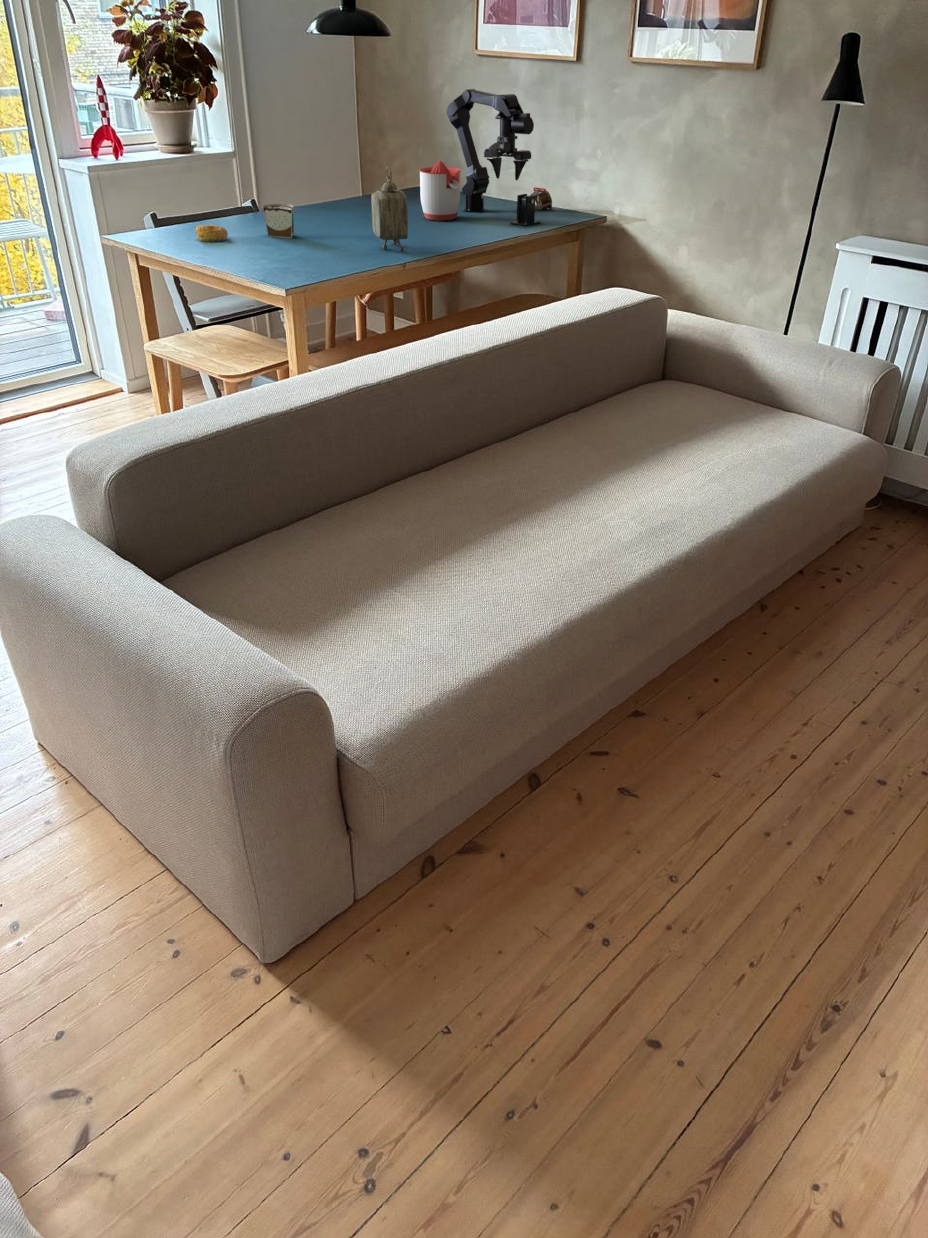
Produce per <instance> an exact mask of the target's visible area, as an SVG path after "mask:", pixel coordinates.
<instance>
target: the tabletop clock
mask: <svg viewBox="0 0 928 1238" xmlns="http://www.w3.org/2000/svg"><path fill="white" fill-rule="evenodd" d="M388 171H389V175H388ZM385 178H386V180H387V181H386V182H384V183H383V184H382V185H381V189H380V190H376V191H374V192H373V193H372V194H371V195H370V200H371V201H370V202H371V223H372V225H371V226H372V231H373V233H374V235H375V236H376V237H377V238H379V239H381V240H383V241H384V243H383V244H382V246H381V248H382V249H383V250H384V251H385V250H387V248H388V245H387V242H388V241H392V242H391V243H392V245H393V246H397V245H398V247H399V252H401V253H403V252H405V247H404V246H402V244H401V241H400V240H407V239H408V235H409V218H408V217H409V215H408V200H407V196H406V194H405V192H404V191H403V190H402V189H398V187H397V185H396V184H395V183H394V182H392V178H393V175H392V170H391V167H389V166H386V167H385Z"/></svg>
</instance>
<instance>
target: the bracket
mask: <svg viewBox="0 0 928 1238" xmlns="http://www.w3.org/2000/svg"><path fill="white" fill-rule="evenodd" d="M525 195H528V193H522V194H517V197H516V198H517V200H516V220H514V221H510V224H509V225H512V226H518V227H523V228H527V227H530V226H531V227H532V226H535V225H536V226H537V225H540V224H541V220H535V219H536V218H535V217H536V216H535V215H536V209H535V207H536V201H535V197H536V195H531V194H530V195H531V196H529V195H528V196H526V206H525V205H522V201H521V199H522V198H523V197H524V196H525Z"/></svg>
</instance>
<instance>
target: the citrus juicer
mask: <svg viewBox="0 0 928 1238" xmlns="http://www.w3.org/2000/svg"><path fill="white" fill-rule="evenodd" d="M418 171H419V192H420V203H421V208H422V213H423V215H424V218H425V219H427V220H432V221H436V222H442V221H450V220H455V219H456V218H457V215H458V212H459V207H460V204H461V203H460V202H461V172H462V169H460V168H457V167H449V166H446V165H445V164H444V162H443V161H442V160H438V162H436V163H435V165H434V166H430V167H429V166H428V167H422V168H420V169H419V170H418Z"/></svg>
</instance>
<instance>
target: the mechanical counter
mask: <svg viewBox="0 0 928 1238" xmlns="http://www.w3.org/2000/svg"><path fill="white" fill-rule="evenodd" d="M548 209H549V210H551V211H553V199H552V196H551V194H550V191H548V190H546V192H545V193H543V192H540V193H538V194H537V195H536V197H535V210H541V211H545V210H548Z"/></svg>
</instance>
